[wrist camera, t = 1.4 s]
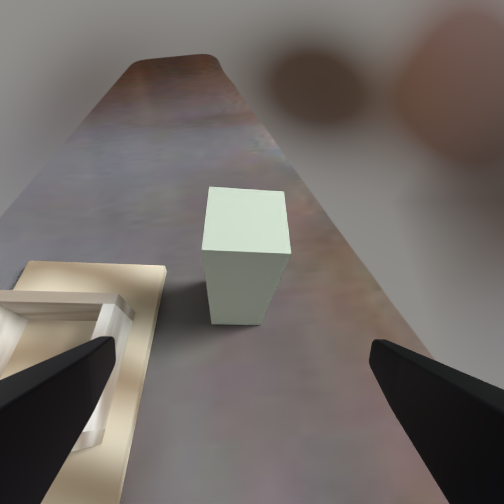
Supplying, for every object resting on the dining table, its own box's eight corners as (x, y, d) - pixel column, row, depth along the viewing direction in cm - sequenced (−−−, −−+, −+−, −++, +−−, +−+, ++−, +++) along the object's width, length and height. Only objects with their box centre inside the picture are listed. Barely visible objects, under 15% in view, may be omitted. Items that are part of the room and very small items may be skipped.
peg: (260, 325, 22) (291, 253, 12) (211, 324, 22) (201, 249, 12) (259, 281, 25) (283, 191, 15) (215, 279, 24) (209, 186, 14)
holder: (112, 540, 14) (66, 592, 10) (-119, 553, 13) (-274, 618, 9) (166, 270, 24) (154, 241, 20) (36, 266, 23) (-5, 234, 19)
